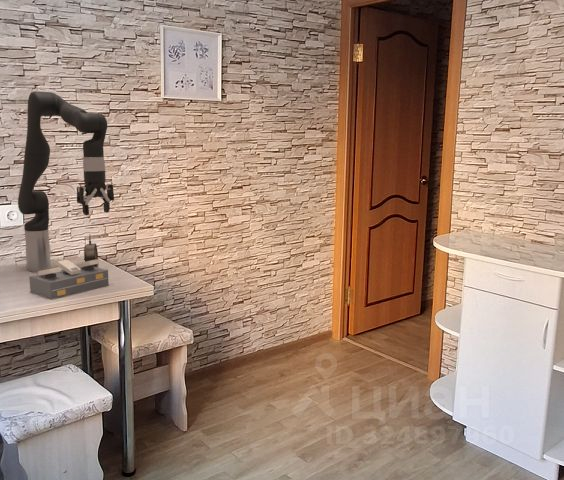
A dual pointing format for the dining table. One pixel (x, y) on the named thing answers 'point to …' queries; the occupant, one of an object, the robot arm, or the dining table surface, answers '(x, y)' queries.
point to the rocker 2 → (69, 267)
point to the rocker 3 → (88, 263)
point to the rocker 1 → (49, 271)
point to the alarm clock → (90, 252)
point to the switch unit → (68, 282)
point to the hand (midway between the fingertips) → (96, 213)
